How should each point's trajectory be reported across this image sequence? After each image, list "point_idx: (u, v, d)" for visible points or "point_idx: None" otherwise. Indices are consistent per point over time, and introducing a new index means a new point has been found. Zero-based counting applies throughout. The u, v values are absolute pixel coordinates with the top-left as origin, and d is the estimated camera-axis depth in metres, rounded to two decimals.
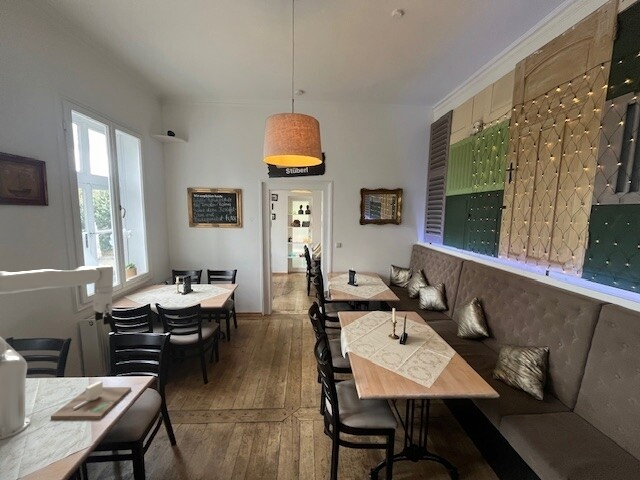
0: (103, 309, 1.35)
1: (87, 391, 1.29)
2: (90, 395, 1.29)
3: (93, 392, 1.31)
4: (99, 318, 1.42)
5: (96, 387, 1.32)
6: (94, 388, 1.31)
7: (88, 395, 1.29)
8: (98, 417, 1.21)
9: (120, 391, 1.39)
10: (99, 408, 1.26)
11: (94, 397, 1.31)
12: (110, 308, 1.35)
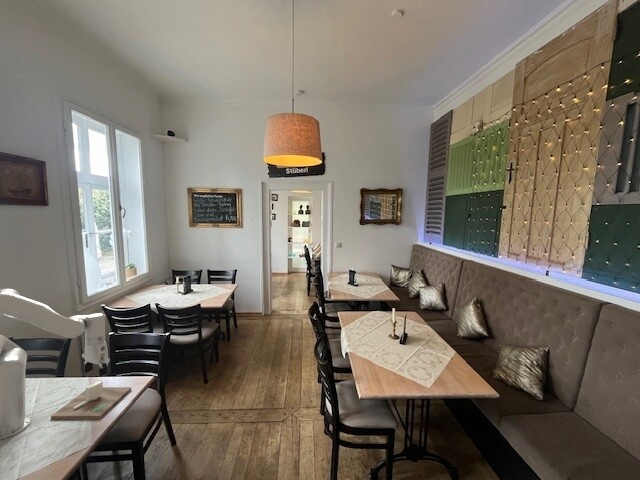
0: None
1: (87, 391, 1.29)
2: (90, 395, 1.29)
3: (93, 392, 1.31)
4: None
5: (96, 387, 1.32)
6: (94, 388, 1.31)
7: (88, 395, 1.29)
8: (98, 417, 1.21)
9: (120, 391, 1.39)
10: (99, 408, 1.26)
11: (94, 397, 1.31)
12: (84, 353, 1.34)
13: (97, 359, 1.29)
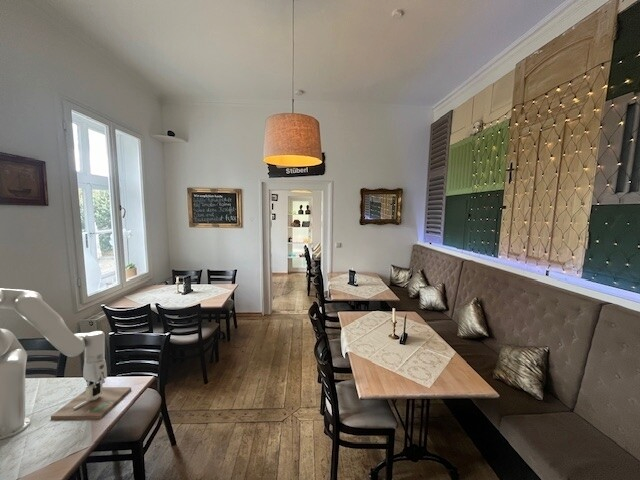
0: None
1: (87, 391, 1.29)
2: (90, 395, 1.29)
3: None
4: None
5: None
6: None
7: (88, 395, 1.29)
8: (98, 417, 1.21)
9: (120, 391, 1.39)
10: (99, 408, 1.26)
11: (94, 397, 1.31)
12: None
13: (96, 377, 1.29)
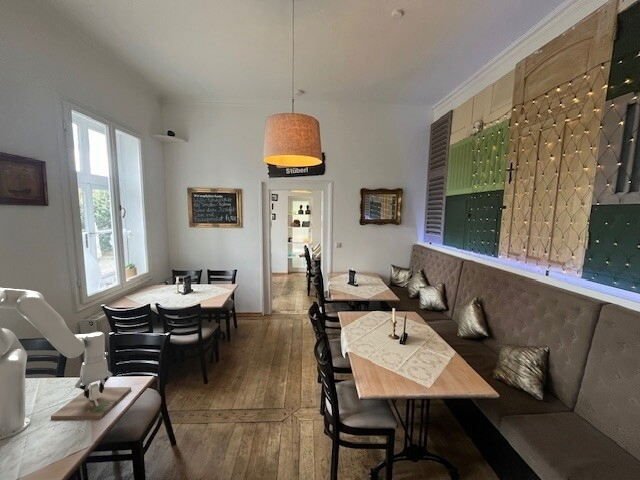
0: None
1: (95, 390, 1.30)
2: (98, 392, 1.31)
3: None
4: (100, 390, 1.34)
5: None
6: None
7: (97, 393, 1.31)
8: (98, 417, 1.21)
9: (120, 391, 1.39)
10: (99, 408, 1.26)
11: None
12: None
13: (106, 373, 1.34)
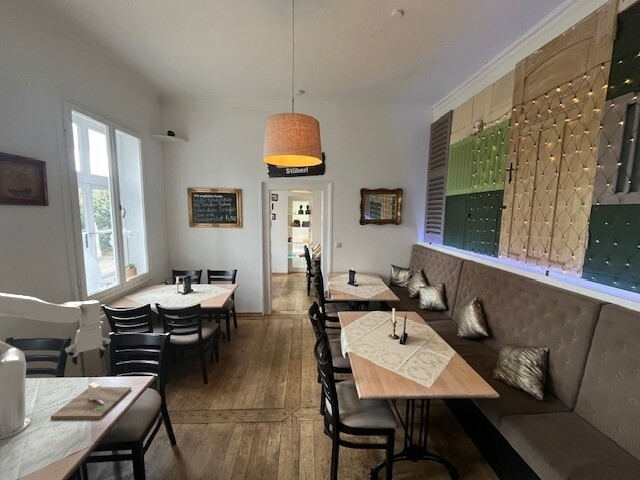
0: None
1: (97, 389, 1.31)
2: None
3: None
4: (99, 356, 1.35)
5: None
6: None
7: (99, 392, 1.32)
8: (98, 417, 1.21)
9: (120, 391, 1.39)
10: (99, 408, 1.26)
11: None
12: (66, 348, 1.25)
13: (101, 342, 1.34)
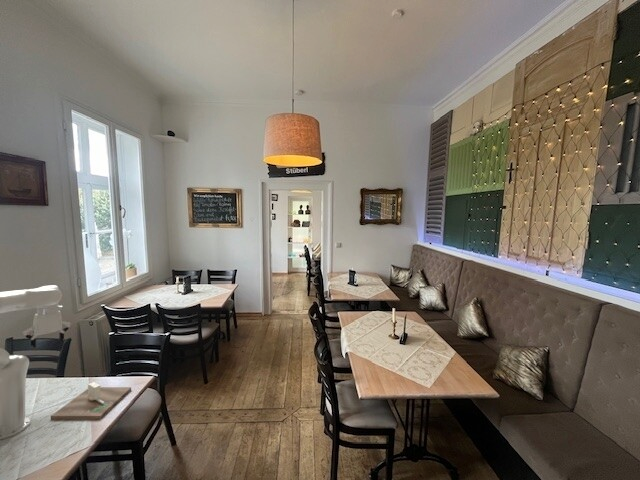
0: None
1: (97, 389, 1.31)
2: None
3: None
4: (59, 339, 1.39)
5: None
6: None
7: (99, 392, 1.32)
8: (98, 417, 1.21)
9: (120, 391, 1.39)
10: (99, 408, 1.26)
11: None
12: (24, 331, 1.29)
13: (60, 325, 1.37)
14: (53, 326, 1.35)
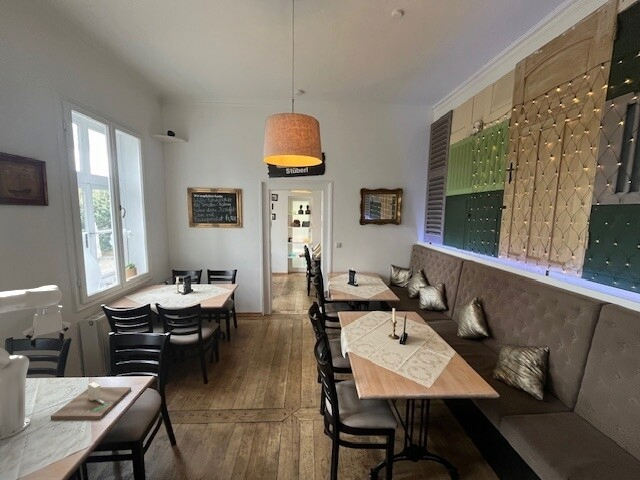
0: None
1: (97, 389, 1.31)
2: None
3: None
4: (59, 339, 1.39)
5: None
6: None
7: (99, 392, 1.32)
8: (98, 417, 1.21)
9: (120, 391, 1.39)
10: (99, 408, 1.26)
11: None
12: (24, 331, 1.29)
13: (60, 325, 1.37)
14: (53, 326, 1.35)
